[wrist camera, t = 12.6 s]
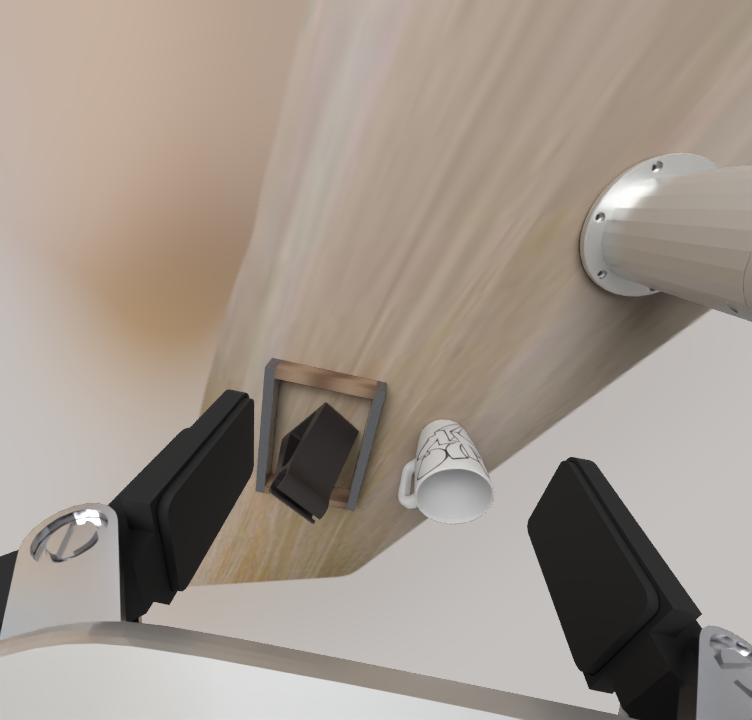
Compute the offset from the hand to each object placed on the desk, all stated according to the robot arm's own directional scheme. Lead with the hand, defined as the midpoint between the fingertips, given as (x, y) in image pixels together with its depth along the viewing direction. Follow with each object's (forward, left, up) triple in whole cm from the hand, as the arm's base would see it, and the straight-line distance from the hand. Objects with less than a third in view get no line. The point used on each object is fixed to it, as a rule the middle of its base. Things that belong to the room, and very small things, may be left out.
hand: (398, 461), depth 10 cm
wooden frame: (+5, +23, -28) cm, 37 cm away
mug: (-10, +21, -28) cm, 36 cm away
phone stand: (+5, +23, -28) cm, 37 cm away
